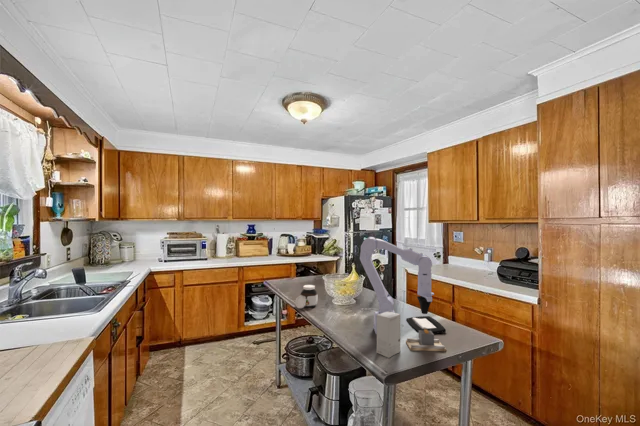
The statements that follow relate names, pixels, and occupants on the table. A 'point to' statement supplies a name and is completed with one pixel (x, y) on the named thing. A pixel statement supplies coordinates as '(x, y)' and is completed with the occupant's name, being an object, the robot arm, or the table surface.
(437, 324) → the black picture frame
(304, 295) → the spread jar
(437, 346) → the rail board
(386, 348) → the skincare box
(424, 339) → the module
